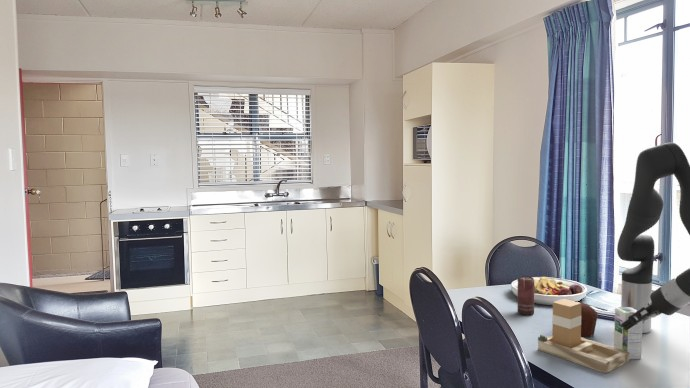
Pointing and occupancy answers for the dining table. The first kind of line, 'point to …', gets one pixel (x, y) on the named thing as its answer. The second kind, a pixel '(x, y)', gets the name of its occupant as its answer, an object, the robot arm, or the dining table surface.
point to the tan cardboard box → (566, 323)
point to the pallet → (586, 353)
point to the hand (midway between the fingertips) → (631, 324)
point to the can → (526, 296)
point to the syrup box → (627, 333)
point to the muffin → (588, 320)
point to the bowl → (553, 290)
